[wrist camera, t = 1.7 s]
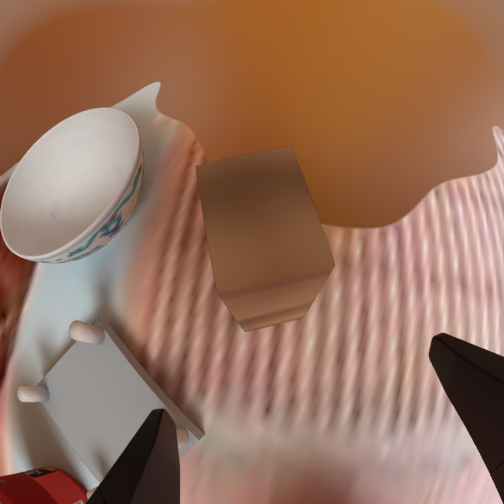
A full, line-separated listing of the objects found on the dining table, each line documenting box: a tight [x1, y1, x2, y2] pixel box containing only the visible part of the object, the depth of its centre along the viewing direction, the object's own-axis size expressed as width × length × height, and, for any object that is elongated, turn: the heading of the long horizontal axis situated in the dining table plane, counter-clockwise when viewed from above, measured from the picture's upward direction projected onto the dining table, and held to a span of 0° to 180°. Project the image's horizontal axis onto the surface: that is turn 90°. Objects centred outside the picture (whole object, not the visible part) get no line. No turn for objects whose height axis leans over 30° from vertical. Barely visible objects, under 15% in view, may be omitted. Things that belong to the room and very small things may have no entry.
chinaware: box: [0, 108, 144, 263], centre depth 23 cm, size 15×15×8 cm
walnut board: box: [195, 146, 335, 332], centre depth 18 cm, size 6×4×12 cm
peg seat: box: [17, 319, 205, 499], centre depth 17 cm, size 12×10×5 cm
